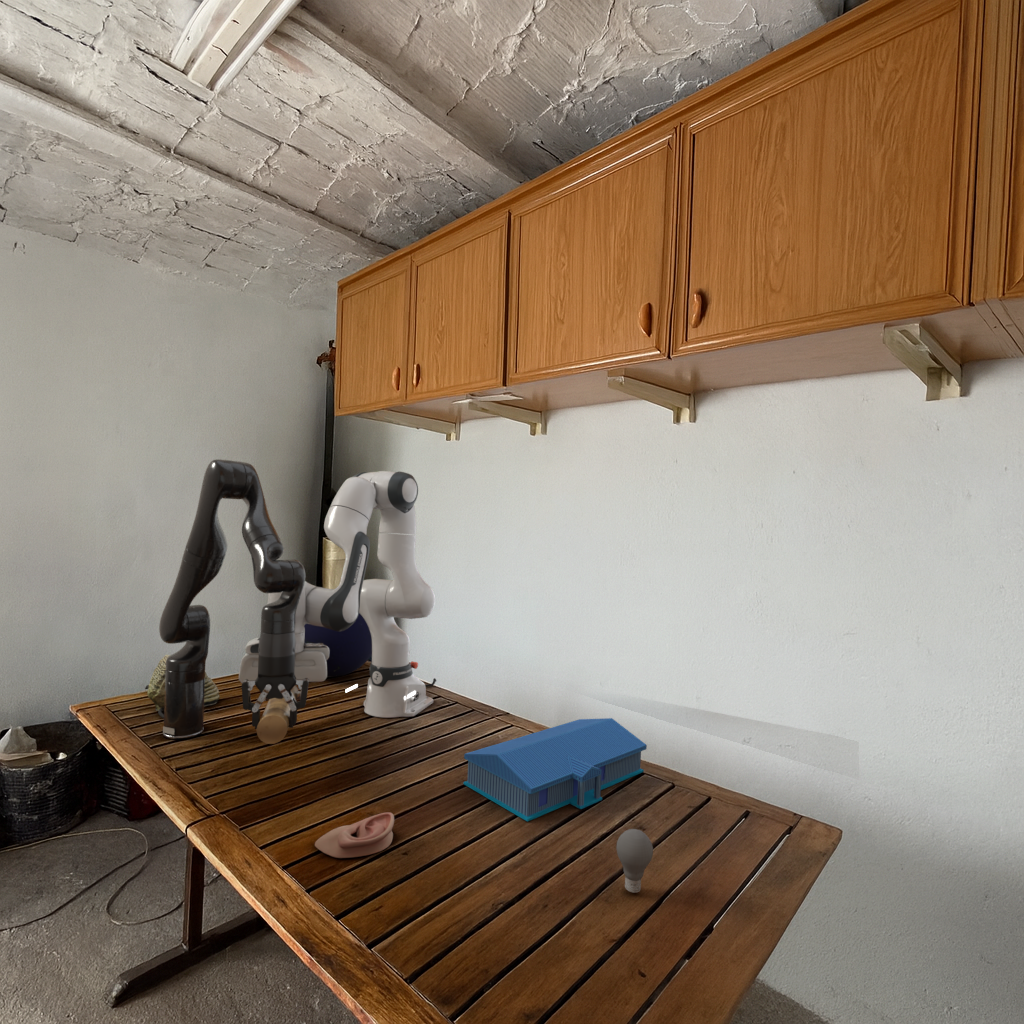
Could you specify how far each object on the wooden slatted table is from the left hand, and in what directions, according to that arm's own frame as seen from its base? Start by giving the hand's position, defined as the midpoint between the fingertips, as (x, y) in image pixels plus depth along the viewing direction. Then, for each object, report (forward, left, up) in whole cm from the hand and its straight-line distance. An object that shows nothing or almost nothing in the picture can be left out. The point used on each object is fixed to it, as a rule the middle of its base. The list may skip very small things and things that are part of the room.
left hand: (274, 727), depth 138 cm
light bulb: (+74, +30, -13) cm, 81 cm away
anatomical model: (+32, +2, -13) cm, 34 cm away
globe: (-68, +50, -13) cm, 85 cm away
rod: (-7, +4, -2) cm, 8 cm away
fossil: (-64, 0, -13) cm, 65 cm away
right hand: (-14, +8, +1) cm, 16 cm away
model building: (+38, +52, -13) cm, 66 cm away
